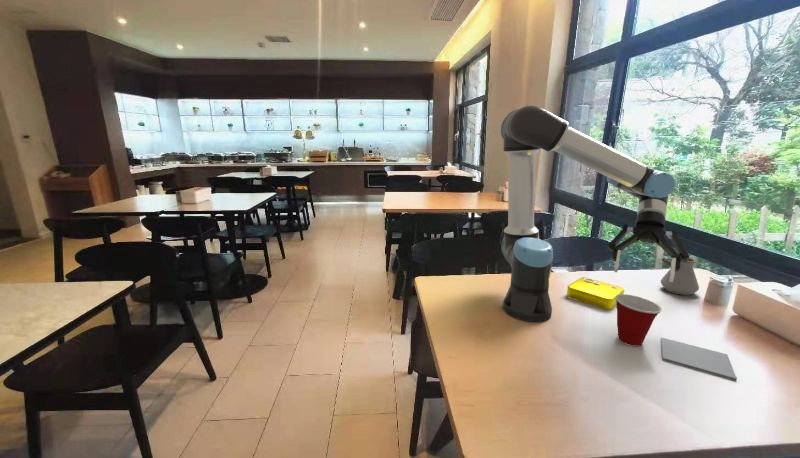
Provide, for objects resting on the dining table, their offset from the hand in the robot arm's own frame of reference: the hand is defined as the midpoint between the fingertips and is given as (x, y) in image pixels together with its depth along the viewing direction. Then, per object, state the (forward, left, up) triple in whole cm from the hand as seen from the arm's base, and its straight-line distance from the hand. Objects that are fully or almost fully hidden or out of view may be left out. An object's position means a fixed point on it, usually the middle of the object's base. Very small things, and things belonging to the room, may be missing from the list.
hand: (642, 274), depth 103 cm
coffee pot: (+11, +37, -16) cm, 42 cm away
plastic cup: (0, -11, -16) cm, 20 cm away
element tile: (-12, +16, -17) cm, 26 cm away
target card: (+14, -11, -16) cm, 24 cm away
